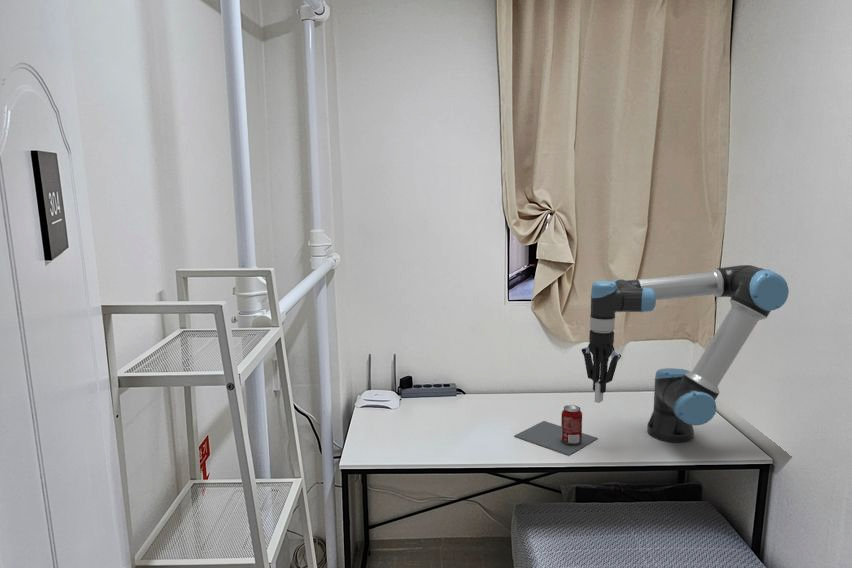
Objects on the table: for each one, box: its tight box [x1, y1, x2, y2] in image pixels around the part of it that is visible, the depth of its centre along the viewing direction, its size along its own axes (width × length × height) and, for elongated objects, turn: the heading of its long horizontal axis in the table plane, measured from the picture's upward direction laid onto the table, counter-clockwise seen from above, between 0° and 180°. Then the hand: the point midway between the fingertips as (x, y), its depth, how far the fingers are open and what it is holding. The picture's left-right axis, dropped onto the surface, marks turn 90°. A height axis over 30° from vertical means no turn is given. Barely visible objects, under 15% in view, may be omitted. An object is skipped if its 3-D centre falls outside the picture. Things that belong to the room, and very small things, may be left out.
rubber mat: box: [513, 420, 599, 457], centre depth 216 cm, size 22×18×1 cm
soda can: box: [560, 404, 583, 445], centre depth 211 cm, size 7×7×12 cm
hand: (598, 401), depth 202 cm, fingers closed
